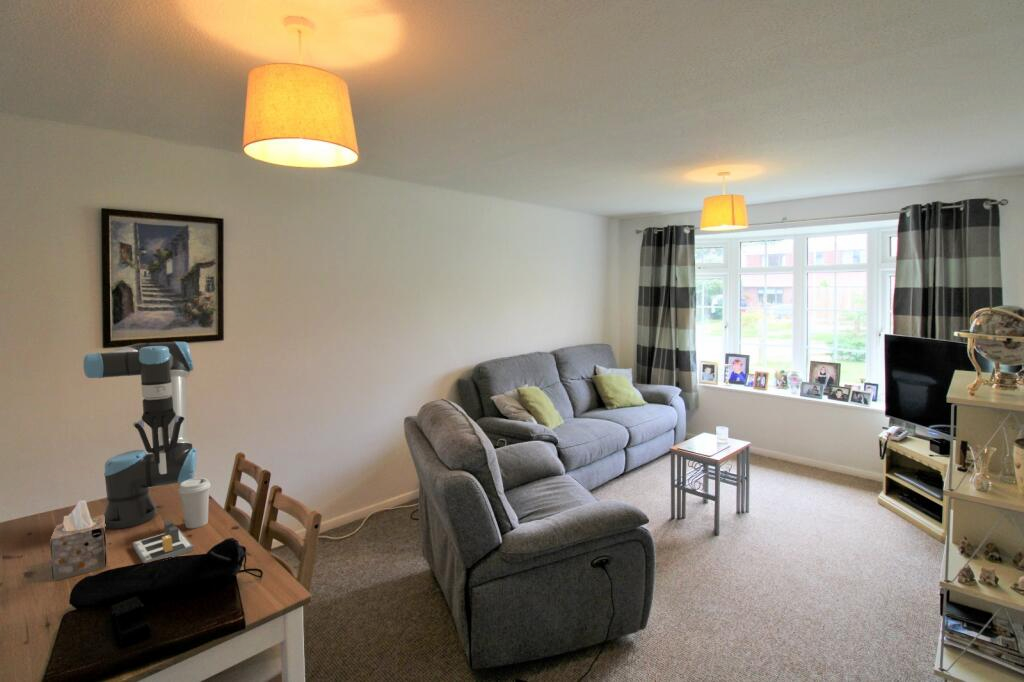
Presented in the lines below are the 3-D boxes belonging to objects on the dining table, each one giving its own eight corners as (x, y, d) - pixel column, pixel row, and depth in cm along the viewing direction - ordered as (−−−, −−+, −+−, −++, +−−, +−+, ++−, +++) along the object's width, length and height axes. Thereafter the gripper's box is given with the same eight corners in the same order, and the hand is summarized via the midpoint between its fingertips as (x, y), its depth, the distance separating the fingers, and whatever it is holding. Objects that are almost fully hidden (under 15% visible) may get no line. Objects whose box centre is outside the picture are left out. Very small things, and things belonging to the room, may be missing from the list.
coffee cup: (197, 532, 169) (194, 488, 168) (173, 529, 171) (170, 486, 170) (219, 519, 179) (216, 477, 177) (196, 516, 181) (193, 475, 179)
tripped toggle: (162, 549, 154) (161, 536, 154) (170, 547, 156) (169, 534, 155) (164, 552, 153) (163, 539, 152) (172, 550, 154) (171, 537, 154)
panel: (132, 547, 160) (131, 529, 159) (179, 533, 169) (178, 516, 168) (144, 566, 149) (143, 547, 148) (193, 550, 158) (192, 532, 157)
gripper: (133, 402, 147) (139, 481, 149) (185, 395, 156) (190, 470, 159) (128, 398, 153) (134, 475, 155) (179, 392, 162) (184, 464, 164)
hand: (163, 472), depth 157 cm, fingers closed
